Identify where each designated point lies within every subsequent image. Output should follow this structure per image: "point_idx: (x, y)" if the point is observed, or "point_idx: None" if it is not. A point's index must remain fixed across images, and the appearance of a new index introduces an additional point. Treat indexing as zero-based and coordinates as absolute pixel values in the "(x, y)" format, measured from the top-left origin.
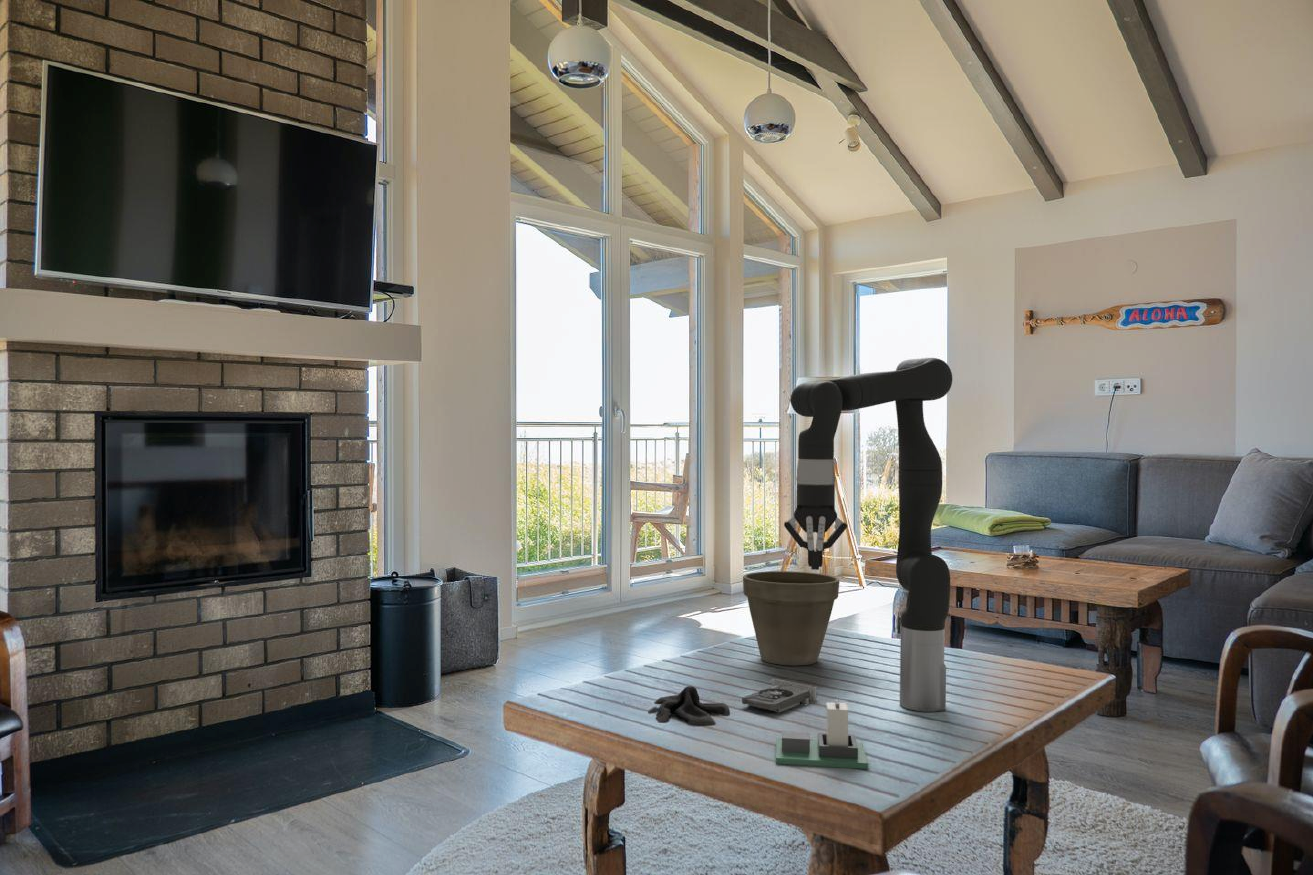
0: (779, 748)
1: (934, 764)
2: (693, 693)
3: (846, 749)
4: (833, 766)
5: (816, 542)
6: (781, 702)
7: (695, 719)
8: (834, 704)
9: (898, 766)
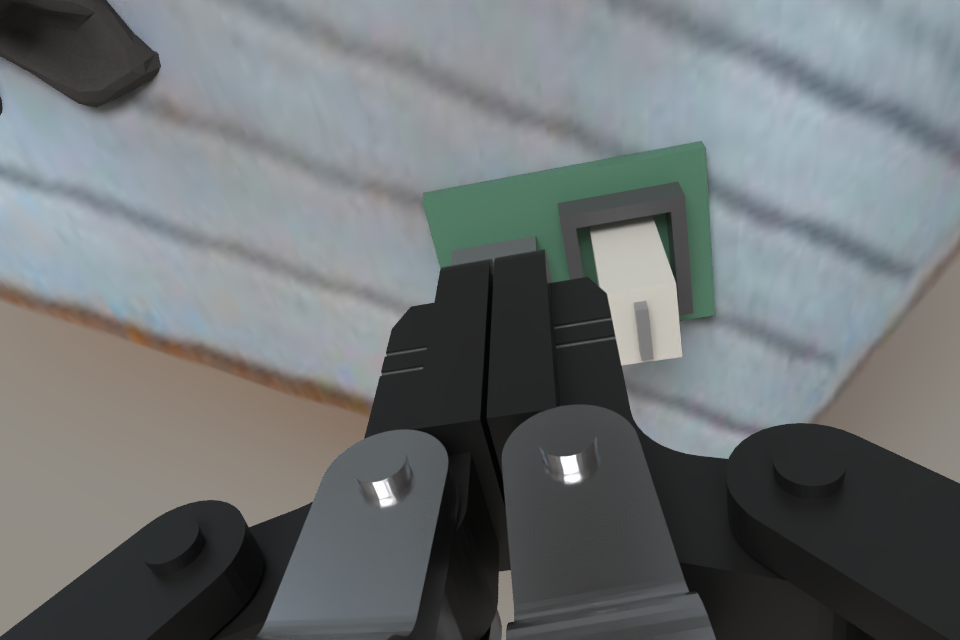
0: None
1: (918, 210)
2: None
3: None
4: None
5: (514, 552)
6: None
7: (92, 99)
8: (632, 310)
9: (801, 261)
